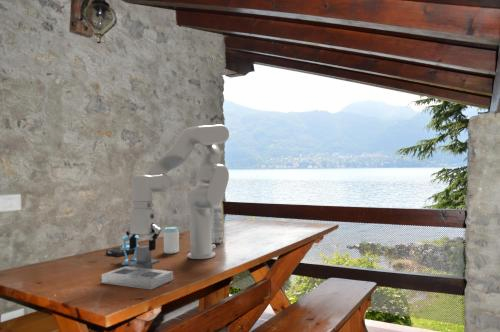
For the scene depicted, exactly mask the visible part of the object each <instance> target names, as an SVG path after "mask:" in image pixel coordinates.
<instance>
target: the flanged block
mask: <svg viewBox="0 0 500 332" xmlns="http://www.w3.org/2000/svg"><path fill="white" fill-rule="evenodd" d="M138 246H139V247H136V255H135V256H136V259H137V261H134V262H132V261H130V262H131V263H128V265H127V266H128V267H137V268H146V269H153V265H156V264H159V263H160V260H159V259H152V251H149V245H145V244H143V245H138Z"/></svg>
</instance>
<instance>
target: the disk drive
mask: <svg viewBox="0 0 500 332" xmlns="http://www.w3.org/2000/svg"><path fill="white" fill-rule="evenodd" d="M125 251H126V254H127V256H128V255H133V254H134V252H135V248H133V249H125ZM105 255H106V256H107V255H108V256H112V257H117V258H120V257H121V258H122V257H125V254H124V251H123V247H122V246H118V247H114V248H109V249H105Z"/></svg>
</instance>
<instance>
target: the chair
mask: <svg viewBox="0 0 500 332" xmlns="http://www.w3.org/2000/svg"><path fill="white" fill-rule="evenodd" d="M139 236H140V235H136V236H135V238H136V247H139V246H140V245H139V244H138V242H139V239H140V237H139ZM121 240H122V241H123V244H122V246H121V247H123V251H124V254H125V256H124V257H125V259H124V260H123V261H122V262H121V265H122V266H129V265H128V263H131V262H134V261H137V258H136V256H137V255H136V248H135V252H134V254H132V258H131V260H132V261H129V257H128V255H127V254H126V251H125V249H130V248H129V244H127V242H129V238H128V236H127V235H123V236H122V237H121Z"/></svg>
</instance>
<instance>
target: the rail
mask: <svg viewBox="0 0 500 332" xmlns="http://www.w3.org/2000/svg"><path fill="white" fill-rule="evenodd" d="M173 280H174V271H172V270H163V269H155V268H154V269H153V268H152V269H146V268H137V267H136V266H129V265H124V266H123V267H119V268H117V269H114V270H110V271H107V272H105V273H102V274H101V283H102V284H106V285H114V286H115V285H116V286H120V287H129V288H136V289H137V288H138V289H142V290H143V289H144V290H151V291H152V290H154V289H156V288H158V287H161V286H163V285H165V284H167V283H169V282H171V281H173Z"/></svg>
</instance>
